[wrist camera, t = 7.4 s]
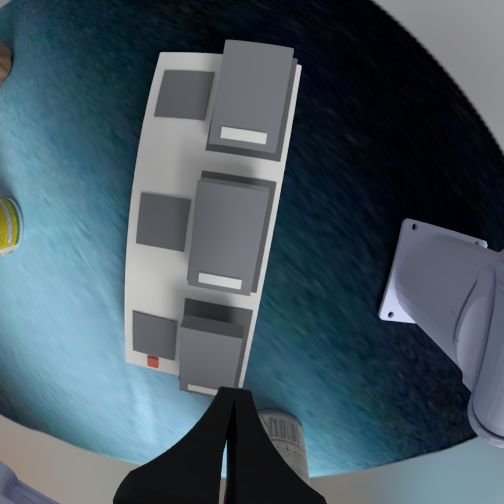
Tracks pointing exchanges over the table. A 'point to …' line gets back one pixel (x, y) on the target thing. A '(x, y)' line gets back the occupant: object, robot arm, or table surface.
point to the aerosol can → (286, 439)
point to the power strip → (189, 210)
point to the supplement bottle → (10, 226)
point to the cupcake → (4, 62)
